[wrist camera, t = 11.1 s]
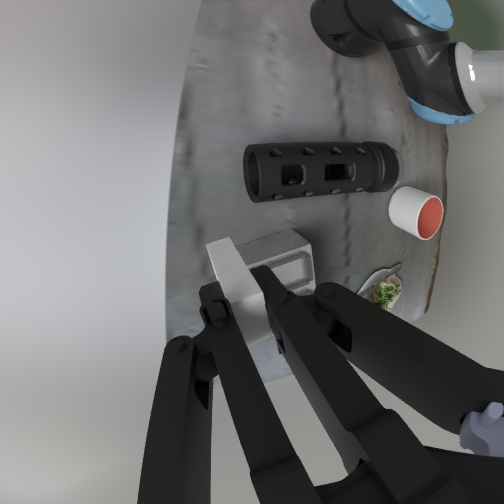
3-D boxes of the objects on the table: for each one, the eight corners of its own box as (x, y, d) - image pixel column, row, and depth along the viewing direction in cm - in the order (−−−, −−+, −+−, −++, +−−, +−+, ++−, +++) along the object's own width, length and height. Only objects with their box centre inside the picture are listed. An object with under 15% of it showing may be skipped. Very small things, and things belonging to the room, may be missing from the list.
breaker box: (291, 228, 53) (313, 246, 45) (301, 294, 61) (320, 318, 53) (220, 251, 51) (231, 274, 43) (241, 317, 58) (253, 345, 51)
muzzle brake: (239, 141, 44) (258, 144, 35) (372, 140, 51) (407, 146, 42) (243, 196, 48) (262, 212, 39) (371, 184, 55) (404, 196, 46)
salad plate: (382, 247, 63) (394, 255, 59) (409, 276, 71) (420, 284, 67) (334, 310, 66) (344, 320, 62) (368, 329, 75) (377, 338, 71)
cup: (381, 222, 60) (411, 238, 51) (392, 180, 56) (424, 191, 47) (407, 227, 63) (435, 241, 54) (417, 189, 59) (447, 200, 51)
